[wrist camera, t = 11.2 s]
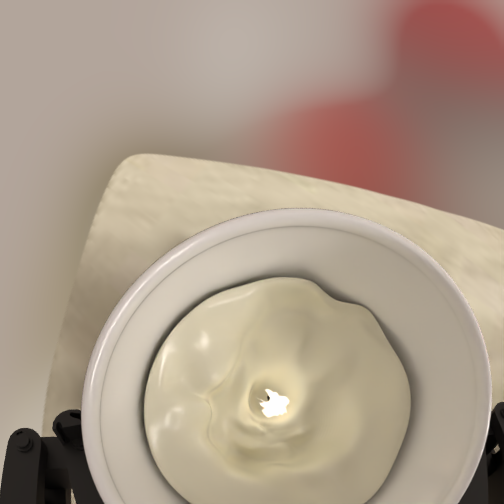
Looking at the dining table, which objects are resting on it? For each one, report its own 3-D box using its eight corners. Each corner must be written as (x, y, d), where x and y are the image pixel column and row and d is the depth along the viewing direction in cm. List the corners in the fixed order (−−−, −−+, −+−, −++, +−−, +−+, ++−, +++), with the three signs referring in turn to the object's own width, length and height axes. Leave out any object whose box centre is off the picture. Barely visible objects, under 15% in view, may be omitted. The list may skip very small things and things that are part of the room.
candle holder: (220, 286, 18) (218, 146, 8) (364, 353, 18) (516, 303, 7) (144, 429, 15) (25, 489, 4) (297, 495, 14) (391, 606, 3)
